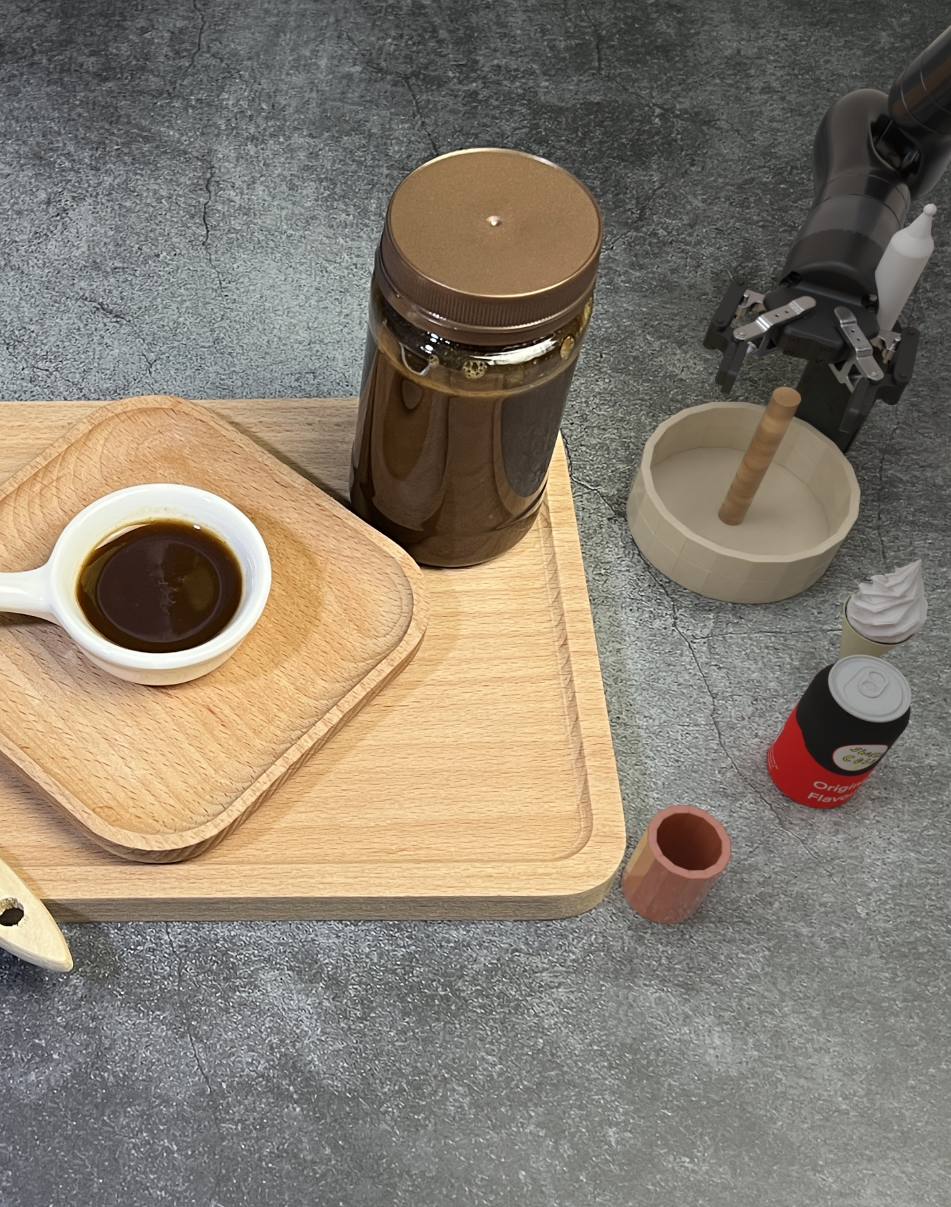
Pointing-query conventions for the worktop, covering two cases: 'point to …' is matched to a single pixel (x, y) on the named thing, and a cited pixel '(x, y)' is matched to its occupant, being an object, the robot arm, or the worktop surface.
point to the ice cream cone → (884, 612)
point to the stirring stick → (759, 454)
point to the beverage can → (840, 730)
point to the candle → (894, 284)
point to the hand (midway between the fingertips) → (787, 404)
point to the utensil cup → (675, 864)
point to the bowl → (773, 521)
